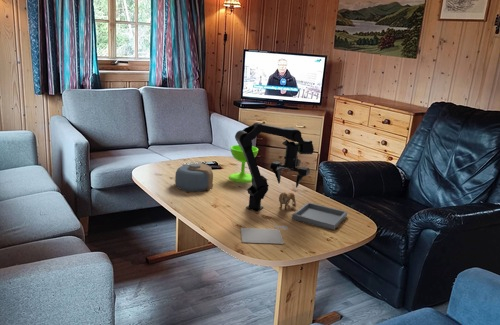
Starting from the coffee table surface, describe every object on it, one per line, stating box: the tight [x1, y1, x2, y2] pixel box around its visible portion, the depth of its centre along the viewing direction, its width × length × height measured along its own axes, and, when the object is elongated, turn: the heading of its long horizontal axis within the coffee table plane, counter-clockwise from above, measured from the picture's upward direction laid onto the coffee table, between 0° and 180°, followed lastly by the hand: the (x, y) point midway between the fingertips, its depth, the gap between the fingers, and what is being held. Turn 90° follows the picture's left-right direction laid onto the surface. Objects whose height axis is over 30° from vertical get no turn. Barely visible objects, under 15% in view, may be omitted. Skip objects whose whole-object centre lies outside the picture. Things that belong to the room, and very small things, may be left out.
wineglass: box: [228, 144, 259, 184], centre depth 257 cm, size 16×16×18 cm
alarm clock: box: [174, 162, 214, 192], centre depth 237 cm, size 19×20×12 cm
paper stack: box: [240, 225, 289, 245], centre depth 189 cm, size 23×25×1 cm
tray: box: [291, 201, 348, 231], centre depth 208 cm, size 20×20×2 cm
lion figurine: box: [278, 192, 297, 211], centre depth 218 cm, size 15×5×9 cm, turn 151°
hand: (287, 185), depth 217 cm, fingers open, 9 cm apart
